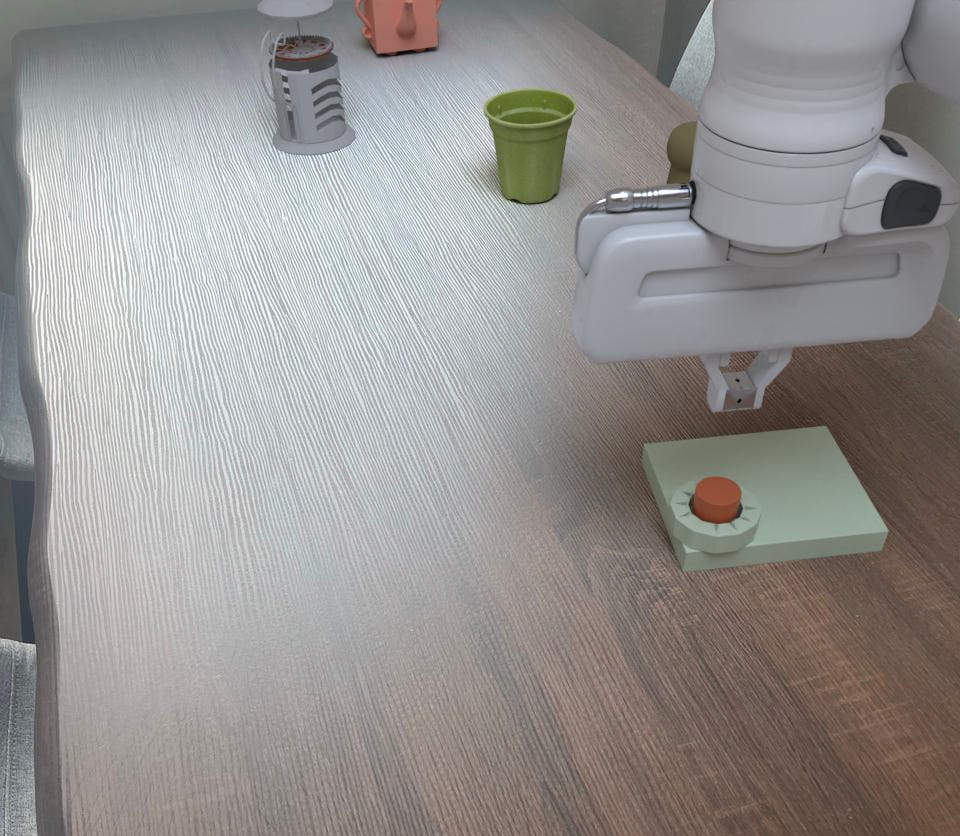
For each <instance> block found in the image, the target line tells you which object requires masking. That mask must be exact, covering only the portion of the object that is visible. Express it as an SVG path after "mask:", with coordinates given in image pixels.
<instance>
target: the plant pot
mask: <svg viewBox="0 0 960 836" xmlns="http://www.w3.org/2000/svg"><path fill="white" fill-rule="evenodd" d="M482 110H483V115H484V116H485V117H486V119H487V121H488V125H489V128H490V131H491V132H492V138H493V144H494V149H495V157H496V163H497V169H498V170H497V171H498V177H499V184H500V191H501V194H502V195H503V196H504V198H506V199H508V200H517V201H519V202H520V203H522V204H537V203H538V204H539V203H543V202H546V201H549V200H551V199H552V197H553V196H554V195H557V194H558V193H559V191H560V186H561V179H562V171H563V166H564V160H565V159H564V158H565V152H566V147H567V141H568V135H569V130H570V128H571V126H572V122H573V117H575V115H576V114H577V111H578V103H577V101H576V100H575V99H574V98H573V97H572V96H570V95H568V94H566V93H564V92H561V91H558V90H553V89H545V88H521V89H513V90H508V91H504V92H501V93H497V94H496V95H494V96H492V97H490V98H489V99H488V100H486V101H485V102H484V104H483V107H482Z"/></svg>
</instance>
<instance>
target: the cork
mask: <svg viewBox="0 0 960 836" xmlns="http://www.w3.org/2000/svg"><path fill="white" fill-rule="evenodd" d="M697 122H698V121H688V122H683V123H681V124H679V125H676V126H675V127H674V128H673V129H672V131H671V132H670V134H669V137H668V139H667V141H666V156H667V159H668V161H669V163H670V165H669V171H668V175H667V178H666V183H665V184H678V183H688V182H689V180H690V172H691V165H692V157H693V150H694V142H695V135H696V127H697Z"/></svg>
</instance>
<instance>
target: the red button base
mask: <svg viewBox="0 0 960 836" xmlns="http://www.w3.org/2000/svg"><path fill="white" fill-rule="evenodd" d="M641 457H642V458H641V466H642V468H643V472H644V474H645V476H646V478H647V482H648V483H649V487H650V489H651V492H652V494H653V497H654V500H655V503H656V505H657V508H658V511H659V513H660V516H661V518H662V520H663V524H664V527H665V529H666V532H667V534H668V537H669V540H670V542H671V545H672V548H673V550H674V554H675V555H676V558H677V561H678V563H679V567H680V569H681V571H682V573H692V572H700V571H708V570H719V569H728V568H734V567H735V568H736V567H737V568H738V567H746V566H757V565H765V564H773V563H782V562H783V563H784V562H792V561H801V560H802V561H803V560H811V559H820V558H829V557H830V558H831V557H838V556H839V557H840V556H847V555H848V556H849V555H857V554H866V553H876V552H882V551H883V548H884V545H885V542H886V540H887V537H888V534H889V532H890V531H889V528H888V527H887V525H886V524H885V522H884V520H883V519H882V517H881V514H879V512H878V510H877V508H876V507H875V505H874V503H873V502H872V500H871V498H870V497H869V494H868V493H867V492H866V490H865V488H864V487H863V484H862V483H861V482H860V480H859V478H858V476H857V475H856V473H855V472H854V470H853V468H852V466H851V465H850V463H849V461H848V460H847V458H846V457H845V455H844V454H843V452H842V450H841V448H840V447H839V445H838V443H837V442H836V440H835V438H834V436H833V435H832V433H831V431H830V430H829V428H828V426H826V425H819V426H811V427H801V428H800V427H799V428H790V429H781V430H779V429H778V430H770V431H762V432H761V431H760V432H759V431H758V432H751V433H749V432H748V433H740V434H731V435H730V434H729V435H719V436H708V437H700V438H690V439H689V438H688V439H679V440H670V441H659V442H649V443H644V444H643V451H642V456H641ZM714 476H718V477H724V478H728V479H730V480H732V481H734V482H735V483H737V484H738V485H739V487H740V489H741V492H742V494H741V499H740V504H739V509H738V513H737V516H736V518H735V519H734V520H733V521H731V522H729V523H723V524H713V523H709V522H705V521H702V520H700V519H699V518H697V517H696V516H695V514H694V513H693V509H692V507H693V501H694V495H695V489H696V486H697V484H698V483H699V482H700V481H701V480H703V479H705V478H708V477H714Z"/></svg>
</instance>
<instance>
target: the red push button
mask: <svg viewBox="0 0 960 836" xmlns="http://www.w3.org/2000/svg"><path fill="white" fill-rule="evenodd" d="M741 494H742V492H741V489H740V487H739V485H738V484H737V483H735V482H734V481H732V480H730V479H728V478H724V477H718V476H714V477H708V478H705V479H703V480H701V481H700V482H699V483H698V484H697V486H696V489H695V495H694V501H693V507H692V509H693V513H694V514H695V516H696V517H697V518H699V519H700V520H702V521H705V522H709V523H713V524H723V523H729V522H731V521H733V520H734V519H735V518H736V516H737V513H738V509H739V504H740V499H741Z"/></svg>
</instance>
